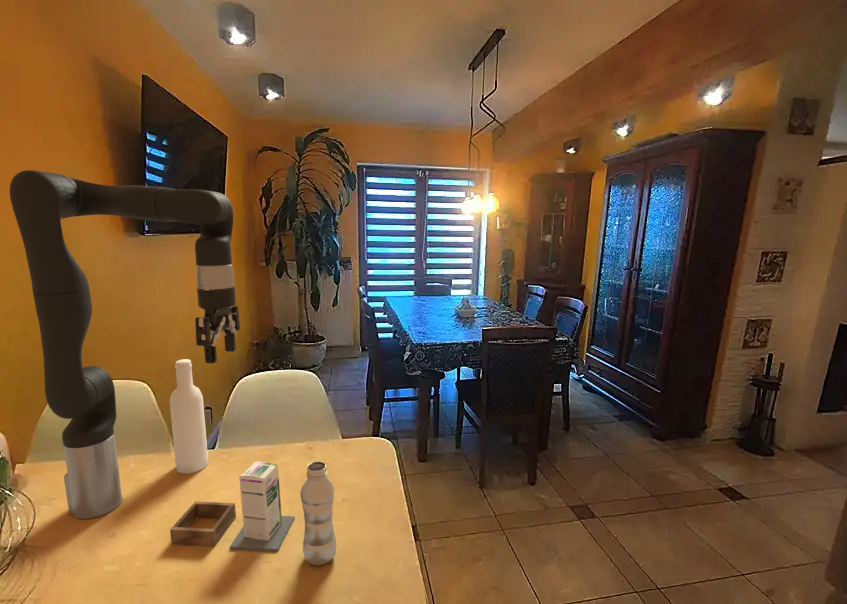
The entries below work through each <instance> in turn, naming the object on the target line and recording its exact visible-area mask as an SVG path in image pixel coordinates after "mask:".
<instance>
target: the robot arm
mask: <svg viewBox="0 0 847 604" xmlns="http://www.w3.org/2000/svg"><path fill="white" fill-rule="evenodd" d="M9 198H10V203H11V206H12V207H11V208H12V210H13V213H14V216H15V220H16V223H17V226H18V230H19V232H20V235H21V236H20V237H21V239H22V242H23V247H24V251H25V256H26V260H27V266H28V270H29V271H28V272H29V275H30V280H31V281H30V282H31V287H32V289H31V290H32V296H33V301H34V306H35V311H36V315H37V320H38V325H39V326H38V327H39V332H40V340H41V347H42V354H43V371H44V372H43V374H44V376H43V377H44V378H43V379H44V392H45V393H44V394H45V401H46V403H47V405H48V408H49V409H50V410H51V412H52V413H54V414H55V415H56V416H57V417H59V418H61V419H66V420H70V421H69V423H68V424H67V426H66V427H65V428H64V429H63V431H62V434H61V438H62V444H63V453H64V457H65V458H64V460H65V465H66V472H67V473H65V474H64V475H63V481H64V489H65V495H66V502H67V507H68V514H69V515H70V514H72V515H73V516H74V517H75V518H76V519H82V520H85V519H86V520H89V519H93V518H98V517H100V516H103V515H105V514H108V513H110V512H112V511H114V510H115V509H117V508H118V507H119V506H120V505H121V503H122V502H123V495H122V494H123V493H122V484H121V477H120V469H119V462H118V460H119V459H118V453H117V444H116V437H115V430H114V429H115V428H114V427H115V423H116V421H117V406H116V404H117V402H116V389H115V384H114V381H113V378H112V377H111V375H110V373H109V372H108V371H107V370H105V369H104V368H102V367H101V366H98V365H97V366H96V365H88V366H84V367H83V361H82V355H83V354H82V351H83V347H84V346H83V345H84V342H85V338H86V336H87V333H88V329H89V326H90V322H91V319H92V315H93V305H92V297H91V290H90V285H89V281H88V278H87V276H86V274H85V273H84V271H83V269H82V268H81V266H80V265H79V264H78V262H77V261H76V259H75V258H74V256H73V255H72V254H71V252H70V250H69V249H68V246H67V243H66V241H65V239H64V238H65V237H64V234H63V227H62V223H61V222H62V219H66V218H67V219H68V218H73V217H82V216H84V217H85V216H98V215H99V216H102V215H103V216H117V217H124V218H128V219H134V220H140V221H141V220H142V221H151V222H165V223H166V222H168V223H169V222H179V223H184V224H193V225H200V236H199V237H198V238H197V239H196V240H195V243H194V251H195V266H196V267H195V281H196V293H197V305H198V307H199V308H200V309H202V310H204V314H203V315H204V316H203V317H202V316H200V317H197V316H196V318H195V319H194V322H195V324H194V325H195V342H196V346H197V347H200V346H201V347H203V349H204V360H205V361H204V362H205V363H206V364H216V362H218V358H217V356H218V355H217V345H216V343H217V340H218V338H219V337H220V336H221V334H222V333H223V334H224V336H223V339H224V351H226V352H230V353H231V352H235V351H236V349H237V348H236V347H237V346H236V344H237V343H236V335H237V331H240V330H241V325H240V315H239V313H240V312H239V307H238V305H237V300H236V299H237V297H236V285H235V272H234V268H233V260H232V259H233V257H232V246H231V244H232V243H231V241H232V235H233V228H234V227H233V226H234V208H233V205H232V201H230V200H229V198H228V196H226V195H225V194H223V193H221V192H218V191H211V190H206V189H188V188H187V189H184V188H181V189H177V188H172V187H163V186H162V187H161V186H152V185H135V184H134V185H110V184H108V185H107V184H102V183H101V184H100V183H95V182H90V181H85V180H81V179H77V178H74V177H73V178H72V177H69V176H66V175H63V174H61V173H60V174H59V173H54V172H47V171H42V170H31V169H30V170H29V169H27V170H22V171H20V172H18V173H17V174H15V175H14V176H13V177H12V179H11V181H10V184H9ZM202 335H203V337H202Z"/></svg>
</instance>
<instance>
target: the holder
mask: <svg viewBox="0 0 847 604" xmlns="http://www.w3.org/2000/svg"><path fill="white" fill-rule="evenodd" d="M236 511H237V510H236V503H235V502H214V501H213V502H212V501H211V502H210V501H194V502H193V503H192V505H191V506H189V508H188V509H187V510H186V511H185V512H184V513H183V515H182V516H180V518H179V519H178V520H177V521H176V522H175V523H174V524H173V526H172V527H171V528H170V529H169V531H170V543H171V545H173V546H191V547H194V546H195V547H210V548H215V547H216V546H217V545H218V543H219V542H220V541H221V539H222V537H223V536H224V535H225V533H226V532H227V531H228V529H229V528H230V526H231V525H232V524H233V522H234V521H235V519H236V518H237V512H236ZM198 519H214V520H215V519H216V520H217V519H218V520H217V521H216V522H215V523H214V525H213V527H212V528H199V527H192V526H193V525H194V523H195V522H196V521H197V520H198Z"/></svg>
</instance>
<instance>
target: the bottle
mask: <svg viewBox="0 0 847 604" xmlns="http://www.w3.org/2000/svg"><path fill="white" fill-rule="evenodd" d="M192 368H193V364H192V360H191V359H188V358H186V359H185V358H183V359H178V360H176V361H175V365H174V369H175V373H176V374H175V375H176V385H177V387H176V388H175V389H174V391H173V390H172V392H171V395H170V398H169V408H170V409H169V410H170V417H171V418H170V419H171V427H172V440H173V448H174V449H173V450H174V462H175V463H174V464H175V468H176V472H178V473H179V474H184V475H190V474H194V473H198V472H200V471H202V470H204V469H205V468H206V467H207V466H208V464H209V453H208V444H207V431H206V419H205V408H204V397H203V394H202V391H201V390H200V388H199V387H197V386H195V385H194V381H193V372H192V371H193V370H192Z"/></svg>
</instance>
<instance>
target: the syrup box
mask: <svg viewBox="0 0 847 604" xmlns="http://www.w3.org/2000/svg"><path fill="white" fill-rule="evenodd" d="M279 473H280V472H279V465H278V464H277V463H272V462H265V461H254V462H253V463H252V464H251V465H250V466H249V467H248V468H246V469H245V471H243V472H242V473H241V474H240V475H239V478H238V480H239V489H240V490H239V492H240V501H241V503H240V504H241V512H242V513H241V514H242V523H243V526H244V536H245V537H247V538H252V539H258V540H265V541H269V540H270V538H271V537H272V535H273V534H274V533H275V532H276V530H277V529H278V528H279V526H280V525H281V524H282V516H283V515H282V505H281V490H280V475H279Z"/></svg>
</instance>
